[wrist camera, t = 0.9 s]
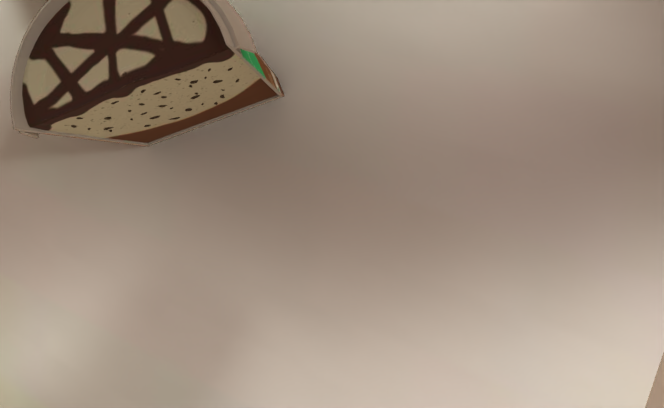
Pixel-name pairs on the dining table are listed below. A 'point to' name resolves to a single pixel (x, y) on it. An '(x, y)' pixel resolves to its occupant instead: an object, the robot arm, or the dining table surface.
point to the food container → (135, 69)
